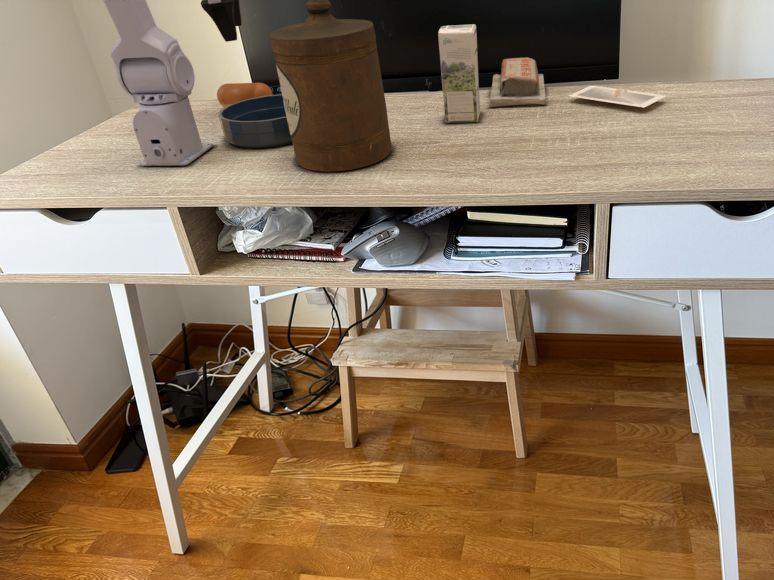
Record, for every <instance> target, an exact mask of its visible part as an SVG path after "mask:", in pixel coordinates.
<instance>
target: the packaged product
mask: <svg viewBox="0 0 774 580" xmlns="http://www.w3.org/2000/svg"><path fill="white" fill-rule="evenodd" d="M537 66H538V65H537V61H536V60H535V59H534V58H530V57H528V56H526V57H513V58H512V57H511V58H504V59H502V62H501V67H500V70H501V71H500V74H498V73H495V74H493V75H492V84H491V90H490V96H489V97H490V98H489V102H490V107H491V108H494V107H495V108H496V107H505V106H528V105H529V106H531V105H532V106H533V105H543V106H544V105H546V99H547V97H546V89H545V79H544V74H543V73H539V71H538V67H537Z"/></svg>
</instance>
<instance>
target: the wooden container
mask: <svg viewBox="0 0 774 580" xmlns="http://www.w3.org/2000/svg"><path fill="white" fill-rule="evenodd" d="M305 7H306V11H307V12H308V13H309V14H308V16H307V18H306V19H305V21H304V22H301V23H295V24H289V25H287V26H282V27H279V28H276V29H274V30H272V31H271V32H270V33H269V38H270V44H271V49H272V54H273V57H274V58H273V59H274V62H275V66H276V71H277V77H278V81H279V86H280V92H281V94H282V97H283V103H284V108H285V112H286V117H287V122H288V126H289V130H290V135H291V139H292V143H291V144H292V148H293V152H294V156H295V159H296V163H297V164H298V165H299V166H300V167H301V168H303V169H306V170H310V171H315V172H329V173H330V172H347V171H351V170H357V169H362V168H364V167H365V168H366V167H369V166H371V165H374V164H377V163H379V162H381V161H383V160H384V159H386V158H387V157H388V156H389V155H390V154H391V153H392V150H393V148H392V147H393V145H392V139H391V131H390V125H389V117H388V108H387V102H386V96H385V91H384V84H383V80H382V73H381V67H380V59H379V54H378V48H377V47H378V45H377V37H376V31H375V27H374V23H373V22H372V21H371V20H366V19H359V18H358V19H355V18H340V19H337V18H335V17H334V16H333V15H332V14H331V13H330V10H331V8H332V4H331V2H330V1H329V0H308V1H306V3H305Z"/></svg>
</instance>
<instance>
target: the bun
mask: <svg viewBox="0 0 774 580" xmlns="http://www.w3.org/2000/svg"><path fill="white" fill-rule="evenodd" d="M216 91H217V92H216V99H217V101H218V104H219V105H221V106H222V109H224V108H225V107H227V106H229V105H231V104H234V103H236V102H240V101H243V100H247V99H251V98H256V97H262V96H269V95H274V93H273V91H272V89H271V88H270V86H268V84H266V83H264V82H234V83H223V84H222V85H220V86H219V87H218V89H217V90H216Z"/></svg>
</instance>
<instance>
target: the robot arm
mask: <svg viewBox="0 0 774 580" xmlns="http://www.w3.org/2000/svg"><path fill="white" fill-rule="evenodd" d="M102 1H103V3H104V5H105V7H106V9H107V11H108V13H109V16H110V18H111V21H112V22H113V24H114V26H115V29H116V31H117V33H118V35H119V38H118V39H117V40H116V42H115V43H114V45H113V46H112V49H111V52H110V57H111V59H112V62H113V64H114V66H115V67H114V68H115V71H116V78H117V81H118V83H119V85H120V87H121V88H122V90H123V91H124V92H125V93H126V94H127V95H128V96H130V97H132V99H133V102H134V103H137V104H138V103H139V108H138V111H137V112H136V113H135V115H134V116H133V120H132V127H133V131H134V133H135V136H136V139H137V143H138V145H139V147H140V150H141V154H142V157H143V160H142V161H141V162H140V165H141V166H146V167H147V166H150V167H151V166H156V167H157V166H161V167H162V166H188V165H190V163H192V162H193V161H194V160H196V159H197V158H199V157H200V156H201V155H204V154H205V153H206V152H207V151H209V150H210V149H212V147H214V142H202V139H201V136H200V132H199V129H198V125H197V121H196V119H195V115H194V112H193V109H192V106H191V102H190V99H189V98H190V97H189V96H191V95H192V92H193V89H194V86H195V81H196V80H195V77H196V76H195V71H194V68H193V65H192V62H191V61H190V59H189V58H188V56H187V55H186V54H185V53H184V51H183V50H182V48H181V46H180V44H179V41H178V39H177V38H175V37H173V36H172V35H170V34H169V33H167V32H166V31H164V30H162V29H161V28H160V27H158V26H157V24H156V21H155V19H154V17H153V15H152V12H151V10H150V8H149V5H148V2H147V0H102ZM200 6H201V8H202V10H203V11H204V12H205V13H206V14H207V15H208V16H209V17H210V18H211V20H212V21H213V23H214V24H215V26H216V28H217V29H218V31H219V34H220V35H221V37H222V38H223V40H224V41H225V42H226V43H227V42H234V41H235V42H236V41H237V40H238V31H237V27H241V26H242V13H241V8H240V6H241V5H240V0H201V1H200Z"/></svg>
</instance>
